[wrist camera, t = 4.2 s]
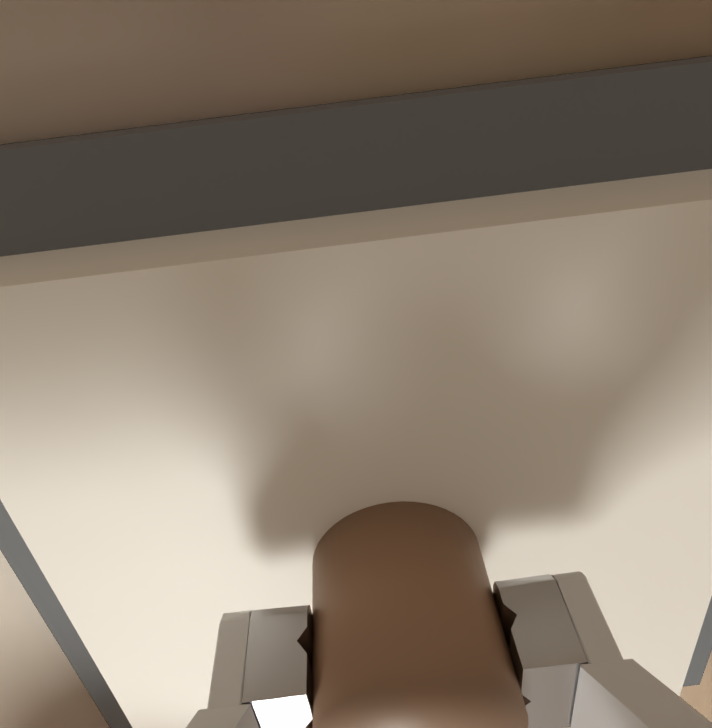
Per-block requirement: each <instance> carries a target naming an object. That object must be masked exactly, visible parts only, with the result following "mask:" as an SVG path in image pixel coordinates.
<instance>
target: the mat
mask: <svg viewBox="0 0 712 728" xmlns="http://www.w3.org/2000/svg"><path fill="white" fill-rule="evenodd" d="M705 169H712V56H708V57H700V58H692V59H684V60H676V61H668V62H660V63H652V64H644V65H636V66H628V67H620V68H612V69H604V70H596V71H588V72H580V73H572V74H564V75H556V76H548V77H540V78H532V79H524V80H516V81H508V82H500V83H492V84H484V85H476V86H468V87H460V88H452V89H444V90H436V91H428V92H420V93H412V94H404V95H396V96H388V97H380V98H372V99H364V100H356V101H348V102H340V103H332V104H324V105H316V106H308V107H300V108H292V109H284V110H276V111H268V112H260V113H252V114H244V115H236V116H228V117H220V118H212V119H204V120H196V121H188V122H180V123H172V124H164V125H156V126H148V127H140V128H132V129H124V130H116V131H108V132H100V133H92V134H84V135H76V136H67V137H60V138H52V139H43V140H35V141H27V142H19V143H11V144H3V145H0V257H1V256H10V255H18V254H26V253H34V252H42V251H50V250H58V249H66V248H74V247H82V246H90V245H99V244H107V243H115V242H123V241H131V240H139V239H147V238H155V237H163V236H171V235H179V234H188V233H196V232H204V231H212V230H220V229H228V228H236V227H244V226H252V225H260V224H268V223H276V222H285V221H293V220H301V219H309V218H317V217H325V216H333V215H341V214H349V213H357V212H365V211H374V210H382V209H390V208H398V207H406V206H414V205H422V204H430V203H438V202H446V201H454V200H462V199H471V198H479V197H487V196H495V195H503V194H511V193H519V192H527V191H535V190H543V189H551V188H560V187H568V186H576V185H584V184H592V183H600V182H608V181H616V180H624V179H632V178H640V177H648V176H657V175H665V174H673V173H681V172H689V171H697V170H705ZM0 550H1V551H2V553H3V555H4V556H5V558H6V560H7V561H8V563H9V564H10V566H11V568H12V569H13V571H14V573H15V574H16V576H17V577H18V579H19V581H20V582H21V584H22V585H23V587H24V589H25V590H26V592H27V594H28V595H29V597H30V598H31V600H32V602H33V603H34V605H35V607H36V608H37V610H38V611H39V613H40V615H41V616H42V618H43V620H44V621H45V623H46V624H47V626H48V628H49V629H50V631H51V633H52V634H53V636H54V637H55V639H56V641H57V642H58V644H59V645H60V647H61V649H62V650H63V652H64V654H65V655H66V657H67V658H68V660H69V662H70V663H71V665H72V667H73V668H74V670H75V671H76V673H77V675H78V676H79V678H80V680H81V681H82V683H83V684H84V686H85V688H86V689H87V691H88V692H89V694H90V696H91V697H92V699H93V701H94V702H95V704H96V705H97V707H98V709H99V710H100V712H101V714H102V715H103V717H104V718H105V720H106V722H107V723H108V725H109V727H110V728H132V726H131V724H130V723H129V721H128V719H127V717H126V716H125V714H124V712H123V710H122V709H121V707H120V705H119V704H118V702H117V700H116V698H115V697H114V695H113V693H112V691H111V690H110V688H109V686H108V685H107V683H106V681H105V679H104V678H103V676H102V674H101V672H100V671H99V669H98V667H97V666H96V664H95V662H94V660H93V659H92V657H91V655H90V654H89V652H88V650H87V648H86V647H85V645H84V643H83V641H82V640H81V638H80V636H79V635H78V633H77V631H76V629H75V628H74V626H73V624H72V622H71V621H70V619H69V617H68V616H67V614H66V612H65V610H64V609H63V607H62V605H61V603H60V602H59V600H58V598H57V597H56V595H55V593H54V591H53V590H52V588H51V586H50V584H49V583H48V581H47V579H46V578H45V576H44V574H43V572H42V571H41V569H40V567H39V565H38V564H37V562H36V560H35V559H34V557H33V555H32V553H31V552H30V550H29V548H28V547H27V545H26V543H25V541H24V540H23V538H22V536H21V534H20V533H19V531H18V529H17V528H16V526H15V524H14V522H13V521H12V519H11V517H10V515H9V514H8V512H7V510H6V509H5V507H4V505H3V503H2V502H1V500H0ZM711 650H712V596H711V600H710V603H709V606H708V609H707V612H706V615H705V618H704V621H703V624H702V628H701V631H700V634H699V637H698V640H697V643H696V646H695V649H694V652H693V655H692V659H691V662H690V665H689V668H688V671H687V674H686V677H685V680H684V683H683V686H691V685H700V682H701V679H702V676H703V673H704V670H705V668H706V665H707V662H708V659H709V656H710V653H711Z"/></svg>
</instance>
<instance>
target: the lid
mask: <svg viewBox="0 0 712 728" xmlns="http://www.w3.org/2000/svg"><path fill="white" fill-rule="evenodd" d="M0 500H1V502H2V503H3V505H4V507H5V509H6V510H7V512H8V514H9V515H10V517H11V519H12V521H13V522H14V524H15V526H16V528H17V529H18V531H19V533H20V534H21V536H22V538H23V540H24V541H25V543H26V545H27V547H28V548H29V550H30V552H31V553H32V555H33V557H34V559H35V560H36V562H37V564H38V565H39V567H40V569H41V571H42V572H43V574H44V576H45V578H46V579H47V581H48V583H49V584H50V586H51V588H52V590H53V591H54V593H55V595H56V597H57V598H58V600H59V602H60V603H61V605H62V607H63V609H64V610H65V612H66V614H67V616H68V617H69V619H70V621H71V622H72V624H73V626H74V628H75V629H76V631H77V633H78V635H79V636H80V638H81V640H82V641H83V643H84V645H85V647H86V648H87V650H88V652H89V654H90V655H91V657H92V659H93V660H94V662H95V664H96V666H97V667H98V669H99V671H100V672H101V674H102V676H103V678H104V679H105V681H106V683H107V685H108V686H109V688H110V690H111V691H112V693H113V695H114V697H115V698H116V700H117V702H118V704H119V705H120V707H121V709H122V710H123V712H124V714H125V716H126V717H127V719H128V721H129V723H130V724H131V726H132V728H186V726H187V725H188V724H189V722H190V721H191V719H192V718H193V717H194V715H195V714H196V713H197V711H198V710H200V709H206V708H207V707H208V700H209V693H210V686H211V679H212V671H213V664H214V657H215V650H216V643H217V636H218V629H219V623H220V621H221V618H222V616H223V613H232V612H240V611H249V610H260V609H270V608H280V607H290V606H300V605H310V607H311V611H312V615H313V653H312V674H313V728H528V724H529V723H528V714H527V710H526V707H525V703H524V700H523V696H522V693H521V690H520V686H519V683H518V679H517V676H516V672H515V669H514V665H513V662H512V658H511V655H510V651H509V648H508V644H507V641H506V637H505V634H504V630H503V627H502V624H501V620H500V617H499V613H498V610H497V606H496V603H495V599H494V596H493V584H494V582H495V581H502V580H510V579H517V578H524V577H532V576H539V575H546V574H550V575H555V574H562V573H569V572H576V571H580V572H582V573H583V574H584V575H585V576H586V578H587V580H588V582H589V584H590V587H591V589H592V591H593V593H594V595H595V598H596V600H597V602H598V604H599V606H600V609H601V611H602V613H603V615H604V618H605V620H606V622H607V624H608V626H609V629H610V631H611V633H612V635H613V637H614V640H615V642H616V644H617V646H618V648H619V651H620V653H621V655H622V657H623V659H634V660H635V661H636V662H637V663H639V664H640V665H641V666H642V667H643V668H645V669H646V670H647V671H648V672H650V673H651V674H652V675H653V676H655V677H656V678H657V679H658V680H660V681H661V682H662V683H663V684H665V685H666V686H667V687H668V688H670V689H671V690H672V691H673V692H674V693H676V694H677V695H678V696H680V693H681V690H682V687H683V683H684V680H685V677H686V674H687V671H688V668H689V665H690V662H691V659H692V655H693V652H694V649H695V646H696V643H697V640H698V637H699V634H700V631H701V628H702V624H703V621H704V618H705V615H706V612H707V609H708V606H709V603H710V600H711V596H712V169H705V170H697V171H689V172H681V173H673V174H665V175H657V176H648V177H640V178H632V179H624V180H616V181H608V182H600V183H592V184H584V185H576V186H568V187H560V188H551V189H543V190H535V191H527V192H519V193H511V194H503V195H495V196H487V197H479V198H471V199H462V200H454V201H446V202H438V203H430V204H422V205H414V206H406V207H398V208H390V209H382V210H374V211H365V212H357V213H349V214H341V215H333V216H325V217H317V218H309V219H301V220H293V221H285V222H276V223H268V224H260V225H252V226H244V227H236V228H228V229H220V230H212V231H204V232H196V233H188V234H179V235H171V236H163V237H155V238H147V239H139V240H131V241H123V242H115V243H107V244H99V245H90V246H82V247H74V248H66V249H58V250H50V251H42V252H34V253H26V254H18V255H10V256H1V257H0Z"/></svg>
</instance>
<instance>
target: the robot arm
mask: <svg viewBox="0 0 712 728" xmlns="http://www.w3.org/2000/svg"><path fill="white" fill-rule="evenodd" d="M493 596H494V599H495V603H496V606H497V610H498V613H499V617H500V620H501V624H502V627H503V630H504V634H505V637H506V641H507V644H508V648H509V651H510V655H511V658H512V662H513V665H514V669H515V672H516V676H517V679H518V683H519V686H520V690H521V693H522V696H523V700H524V703H525V707H526V710H527V714H528V723H529V724H528V728H568V727H570V728H712V722H710V721H709V720H708V719H707V718H705V717H704V716H703V715H702V714H701V713H699V712H698V711H697V710H696V709H694V708H693V707H692V706H691V705H689V704H688V703H687V702H686V701H684V700H683V699H682V698H681V697H679V696H678V695H677V694H676V693H674V692H673V691H672V690H671V689H670V688H668V687H667V686H666V685H665V684H663V683H662V682H661V681H660V680H658V679H657V678H656V677H655V676H653V675H652V674H651V673H650V672H648V671H647V670H646V669H645V668H643V667H642V666H641V665H640V664H639V663H637V662H636V661H635V660H634V659H623V657H622V655H621V653H620V651H619V648H618V646H617V644H616V642H615V640H614V637H613V635H612V633H611V631H610V629H609V626H608V624H607V622H606V620H605V618H604V615H603V613H602V611H601V609H600V606H599V604H598V602H597V600H596V598H595V595H594V593H593V591H592V589H591V587H590V584H589V582H588V580H587V578H586V576H585V575H584V574H583V573H582V572H580V571H576V572H569V573H562V574H555V575H550V574H546V575H539V576H532V577H524V578H517V579H510V580H502V581H495V582H494V584H493ZM312 653H313V615H312V611H311V607H310V605H300V606H290V607H280V608H270V609H260V610H249V611H240V612H232V613H223V616H222V618H221V621H220V623H219V629H218V636H217V643H216V650H215V657H214V664H213V671H212V679H211V686H210V693H209V700H208V707H207V708H206V709H200V710H198V711H197V713H196V714H195V715H194V717H193V718H192V719H191V721H190V722H189V724H188V725H187V726H186V728H313V674H312Z"/></svg>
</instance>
